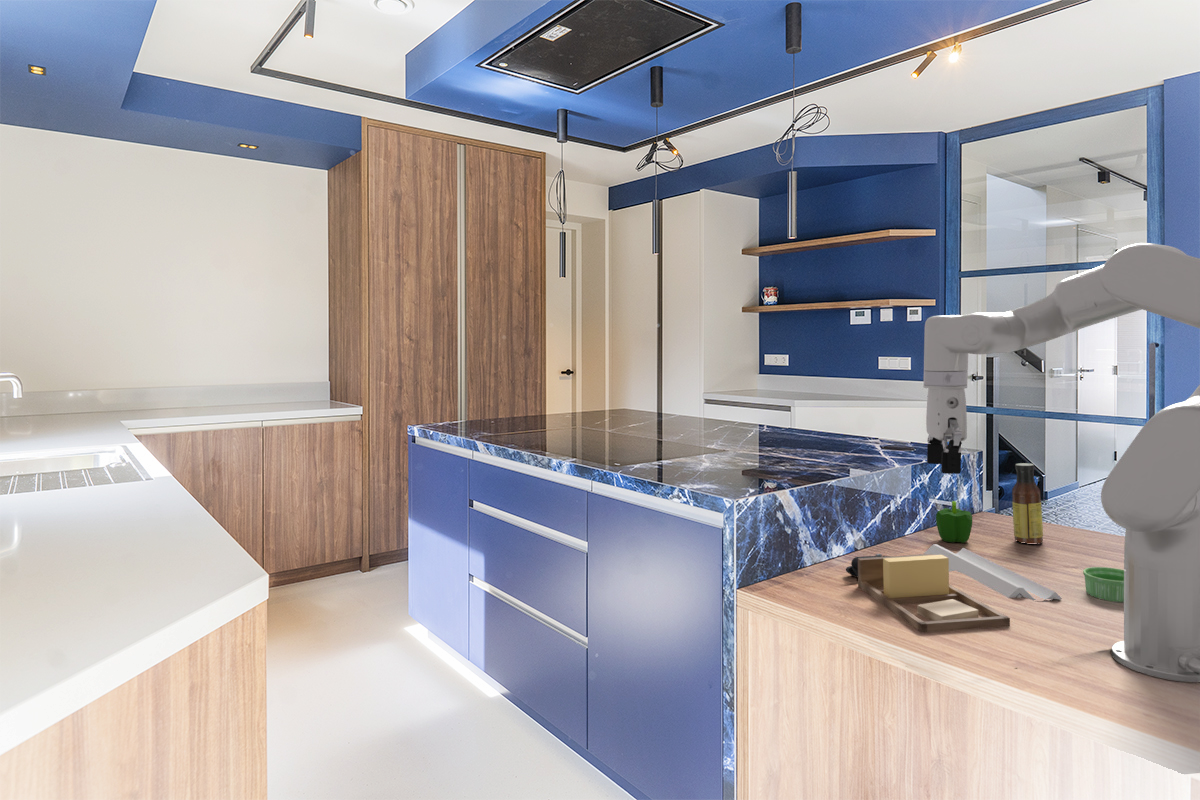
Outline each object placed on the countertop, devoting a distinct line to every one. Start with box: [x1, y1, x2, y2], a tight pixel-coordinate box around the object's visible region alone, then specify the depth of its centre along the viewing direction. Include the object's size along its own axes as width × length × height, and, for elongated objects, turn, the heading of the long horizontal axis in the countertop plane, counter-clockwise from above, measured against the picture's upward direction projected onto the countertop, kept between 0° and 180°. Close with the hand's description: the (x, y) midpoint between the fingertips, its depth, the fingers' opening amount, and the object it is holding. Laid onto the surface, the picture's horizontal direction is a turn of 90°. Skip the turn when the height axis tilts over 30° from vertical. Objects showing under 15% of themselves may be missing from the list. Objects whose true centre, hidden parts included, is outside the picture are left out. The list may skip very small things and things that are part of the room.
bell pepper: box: [935, 500, 973, 543], centre depth 174 cm, size 8×8×10 cm
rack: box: [857, 553, 1011, 633], centre depth 129 cm, size 24×16×7 cm, turn 4°
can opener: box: [845, 553, 889, 578], centre depth 148 cm, size 18×7×6 cm, turn 91°
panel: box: [883, 555, 950, 598], centre depth 133 cm, size 2×12×9 cm, turn 94°
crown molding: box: [923, 543, 1063, 601], centre depth 146 cm, size 31×12×4 cm, turn 2°
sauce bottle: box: [1011, 462, 1044, 544], centre depth 170 cm, size 7×6×20 cm
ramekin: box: [1082, 566, 1124, 603], centre depth 133 cm, size 9×9×4 cm
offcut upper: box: [916, 599, 980, 621], centre depth 123 cm, size 6×8×2 cm
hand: (943, 468), depth 131 cm, fingers open, 9 cm apart
